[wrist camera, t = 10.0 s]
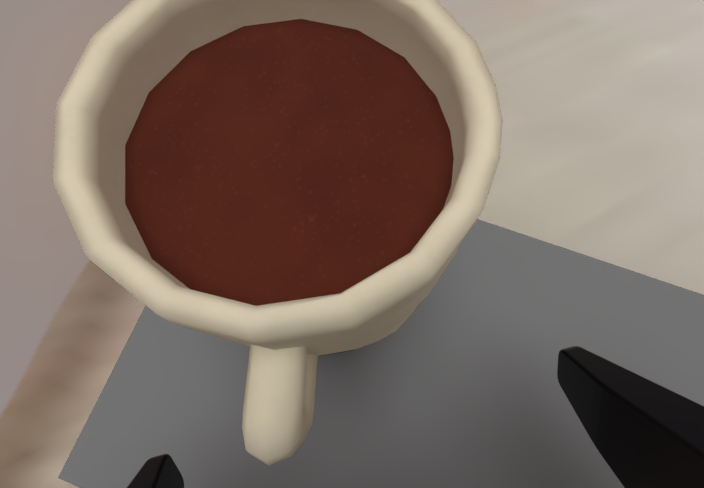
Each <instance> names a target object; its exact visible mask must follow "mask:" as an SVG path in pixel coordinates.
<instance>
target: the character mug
mask: <svg viewBox="0 0 704 488" xmlns="http://www.w3.org/2000/svg"><path fill="white" fill-rule="evenodd" d="M502 123H503V120H502V115H501V110H500V104H499V99H498V94H497V89H496V85H495V83H494V80H493V78H492V76H491V74H490V72H489V69H488V67H487V65H486V63H485V60H484V58H483V56H482V54H481V52H480V49H479V47H478V45H477V43H476V41H475V40H474V39H473V38H472V37H471V36H470V34H469V33H468V32H467V31H466V30H465V29H464V28H463V27H462V26H461V25H460V24H459V23H458V22H457V21H456V19H455V18H454V17H453V16H452V15H451V14H450V13H449V12H448V11H447V10H446V9H445V8H444V7H443V6H442V4H441V3H440V2H439V1H438V0H132V1H131V2H130V3H129V4H128V5H126V6H125V7H124V8H123V9H122V10H121V11H120V12H118V13H117V14H116V15H115V16H114V17H113V18H112V19H111V20H109V21H108V22H107V23H106V24H105V25H104V26H103V27H102V28H100V29H99V30H98V31H97V32H96V33H95V34H94V35H93V36H92V37H91V39H90V41H89V43H88V45H87V47H86V48H85V50H84V53H83V54H82V56H81V58H80V60H79V62H78V64H77V66H76V68H75V70H74V71H73V73H72V75H71V77H70V79H69V81H68V83H67V85H66V87H65V89H64V91H63V92H62V94H61V96H60V98H59V100H58V102H57V104H56V121H55V143H54V165H53V183H54V186H55V188H56V190H57V192H58V195H59V197H60V199H61V201H62V203H63V206H64V208H65V210H66V212H67V214H68V217H69V219H70V221H71V223H72V226H73V228H74V230H75V232H76V234H77V237H78V239H79V241H80V243H81V246H82V248H83V250H84V252H85V254H86V256H87V258H89V259H90V260H91V261H92V262H94V263H95V264H96V265H97V266H98V267H100V268H101V269H102V270H103V271H105V272H106V273H107V274H108V275H109V276H111V277H112V278H113V279H114V280H116V281H117V282H118V283H119V284H120V285H122V286H123V287H124V288H125V289H126V290H128V291H129V292H130V293H131V294H133V295H134V296H135V297H136V298H137V299H139V300H140V301H141V302H142V303H144V304H145V305H146V306H147V307H148V308H150V309H151V310H152V311H153V312H154V313H156V314H157V315H159V316H161V317H162V318H164V319H166V320H167V321H169V322H171V323H174V324H178V325H181V326H184V327H188V328H191V329H194V330H198V331H201V332H204V333H208V334H211V335H214V336H218V337H221V338H224V339H228V340H231V341H234V342H237V343H241V344H244V345H247V346H250V352H249V361H248V369H247V378H246V387H245V396H244V405H243V419H242V430H243V437H244V443H245V449H246V451H247V452H248V453H249V454H250V455H252V456H254V457H255V458H257V459H259V460H260V461H262V462H264V463H265V464H267V465H269V466H270V465H272V464H275V463H277V462H279V461H282V460H284V459H287V458H289V457H291V456H292V455H293V454H294V453H295V451H296V450H297V449H298V448H299V446H300V445H301V444H302V443H303V441H304V440H305V438H306V436H307V434H308V432H309V430H310V428H311V426H312V422H313V415H314V404H315V389H316V374H317V359H318V356H323V355H329V354H335V353H340V352H346V351H352V350H356V349H358V348H361V347H364V346H366V345H369V344H372V343H374V342H377V341H379V340H381V339H383V338H385V337H386V336H388V335H390V334H391V333H393V332H395V331H397V329H398V328H399V327H400V326H401V325H402V324H403V323H404V322H405V320H406V319H407V318H408V317H409V316H410V315H411V314H412V312H413V311H414V310H415V308H416V307H417V306H418V305H419V304H420V302H421V301H422V300H423V299H424V298H425V297H426V296H427V295H428V294H429V293H430V292H431V290H432V289H433V287H434V286H435V284H436V283H437V281H438V280H439V278H440V277H441V275H442V274H443V272H444V271H445V269H446V268H447V266H448V265H449V263H450V262H451V260H452V259H453V257H454V256H455V254H456V253H457V250H458V248H459V245H460V243H461V241H462V240H463V239H464V237H465V236H466V234H467V233H468V232H469V230H470V229H471V228H472V226H473V225H474V223H475V222H476V220H477V219H478V217H479V215H480V214H481V212H482V210H483V208H484V205H485V202H486V199H487V196H488V193H489V190H490V187H491V184H492V180H493V177H494V174H495V171H496V168H497V165H498V162H499V159H500V150H501V137H502Z"/></svg>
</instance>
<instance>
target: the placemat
mask: <svg viewBox="0 0 704 488" xmlns="http://www.w3.org/2000/svg"><path fill="white" fill-rule="evenodd" d="M572 346H579V347H582V348H584V349H586V350H588V351H590V352H592V353H594V354H596V355H598V356H601V357H603V358H605V359H607V360H609V361H611V362H613V363H615V364H617V365H619V366H621V367H623V368H626V369H628V370H630V371H632V372H634V373H636V374H638V375H640V376H642V377H644V378H646V379H648V380H651V381H653V382H655V383H657V384H659V385H661V386H663V387H665V388H667V389H669V390H671V391H673V392H676V393H678V394H680V395H682V396H684V397H686V398H688V399H690V400H692V401H694V402H696V403H698V404H701V405H703V406H704V295H702V294H699V293H696V292H693V291H690V290H687V289H684V288H681V287H678V286H675V285H672V284H669V283H666V282H663V281H660V280H657V279H654V278H651V277H648V276H645V275H642V274H640V273H637V272H634V271H631V270H628V269H625V268H622V267H619V266H616V265H613V264H610V263H607V262H604V261H601V260H598V259H595V258H592V257H589V256H586V255H583V254H580V253H577V252H574V251H571V250H568V249H565V248H562V247H559V246H556V245H553V244H550V243H547V242H544V241H541V240H538V239H535V238H532V237H529V236H526V235H523V234H520V233H517V232H514V231H511V230H508V229H505V228H502V227H499V226H496V225H493V224H490V223H487V222H484V221H481V220H478V219H477V220H476V222H475V223H474V225H473V226H472V228H471V229H470V230H469V232H468V233H467V234H466V236H465V237H464V239H463V240H462V241H461V243H460V245H459V248H458V250H457V253H456V254H455V256H454V257H453V259H452V260H451V262H450V263H449V265H448V266H447V268H446V269H445V271H444V272H443V274H442V275H441V277H440V278H439V280H438V281H437V283H436V284H435V286H434V287H433V289H432V290H431V292H430V293H429V294H428V295H427V296H426V297H425V298H424V299H423V300H422V301H421V302H420V304H419V305H418V306H417V307H416V308H415V310H414V311H413V312H412V314H411V315H410V316H409V317H408V318H407V319H406V320H405V322H404V323H403V324H402V325H401V326H400V327H399V328H398V329H397V331H395V332H393V333H391V334H390V335H388V336H386V337H385V338H383V339H381V340H379V341H377V342H374V343H372V344H369V345H366V346H364V347H361V348H358V349H356V350H352V351H346V352H340V353H335V354H329V355H323V356H318V359H317V374H316V389H315V404H314V415H313V422H312V426H311V428H310V430H309V432H308V434H307V436H306V438H305V440H304V441H303V443H302V444H301V445H300V446H299V448H298V449H297V450H296V451H295V453H294V454H293V455H292V456H291V457H289V458H287V459H284V460H282V461H279V462H277V463H275V464H272V465H270V466H269V465H267V464H265V463H264V462H262V461H260V460H259V459H257V458H255V457H254V456H252V455H250V454H249V453H248V452H247V451H246V449H245V443H244V437H243V430H242V419H243V405H244V396H245V387H246V378H247V369H248V361H249V352H250V346H247V345H244V344H241V343H237V342H234V341H231V340H228V339H224V338H221V337H218V336H214V335H211V334H208V333H204V332H201V331H198V330H194V329H191V328H188V327H184V326H181V325H178V324H174V323H171V322H169V321H167V320H166V319H164V318H162V317H161V316H159V315H157V314H156V313H154V312H153V311H152V310H151V309H150V308H148V307H147V306H145V308H144V310H143V312H142V314H141V316H140V318H139V320H138V322H137V323H136V325H135V327H134V329H133V331H132V333H131V335H130V337H129V339H128V341H127V343H126V345H125V347H124V349H123V351H122V353H121V355H120V357H119V359H118V361H117V363H116V365H115V367H114V369H113V371H112V373H111V375H110V377H109V379H108V381H107V383H106V384H105V386H104V388H103V390H102V392H101V394H100V396H99V398H98V400H97V402H96V404H95V406H94V408H93V410H92V412H91V414H90V416H89V418H88V420H87V422H86V424H85V426H84V428H83V430H82V432H81V434H80V436H79V438H78V440H77V442H76V444H75V445H74V447H73V449H72V451H71V453H70V455H69V457H68V459H67V461H66V463H65V465H64V467H63V469H62V471H61V473H60V475H59V477H58V478H60V479H62V480H64V481H66V482H69V483H71V484H73V485H75V486H78V487H80V488H127V487H128V485H129V484H130V483H131V481H132V480H133V478H134V477H135V476H136V474H137V473H138V472H139V470H140V469H141V468H142V466H143V465H144V464H145V462H146V461H147V460H148V459H150V458H152V457H155V456H159V455H163V454H169V455H170V456H171V457H172V459H173V461H174V462H175V464H176V466H177V468H178V469H179V471H180V473H181V474H182V477H183V480H184V488H624V486H623V485H622V484H621V482H620V481H619V479H618V478H617V477H616V475H615V474H614V472H613V471H612V470H611V468H610V467H609V465H608V464H607V463H606V461H605V460H604V458H603V457H602V456H601V454H600V453H599V451H598V450H597V448H596V447H595V445H594V443H593V442H592V440H591V438H590V437H589V435H588V433H587V432H586V430H585V428H584V426H583V425H582V423H581V421H580V419H579V418H578V416H577V414H576V412H575V411H574V409H573V407H572V405H571V404H570V402H569V400H568V398H567V397H566V395H565V393H564V391H563V390H562V388H561V386H560V384H559V382H558V378H557V368H558V354H559V351H560V350H561V349H564V348H568V347H572Z"/></svg>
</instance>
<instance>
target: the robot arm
mask: <svg viewBox="0 0 704 488" xmlns="http://www.w3.org/2000/svg"><path fill="white" fill-rule="evenodd" d="M557 378H558V382H559V384H560V386H561V388H562V390H563V391H564V393H565V395H566V397H567V398H568V400H569V402H570V404H571V405H572V407H573V409H574V411H575V412H576V414H577V416H578V418H579V419H580V421H581V423H582V425H583V426H584V428H585V430H586V432H587V433H588V435H589V437H590V438H591V440H592V442H593V443H594V445H595V447H596V448H597V450H598V451H599V453H600V454H601V456H602V457H603V458H604V460H605V461H606V463H607V464H608V465H609V467H610V468H611V470H612V471H613V472H614V474H615V475H616V477H617V478H618V479H619V481H620V482H621V484H622V485H623V486H624V488H704V406H703V405H701V404H698V403H696V402H694V401H692V400H690V399H688V398H686V397H684V396H682V395H680V394H678V393H676V392H673V391H671V390H669V389H667V388H665V387H663V386H661V385H659V384H657V383H655V382H653V381H651V380H648V379H646V378H644V377H642V376H640V375H638V374H636V373H634V372H632V371H630V370H628V369H626V368H623V367H621V366H619V365H617V364H615V363H613V362H611V361H609V360H607V359H605V358H603V357H601V356H598V355H596V354H594V353H592V352H590V351H588V350H586V349H584V348H582V347H579V346H572V347H568V348H564V349H561V350H560V351H559V354H558V368H557ZM127 488H184V480H183V477H182V474H181V473H180V471H179V469H178V468H177V466H176V464H175V462H174V461H173V459H172V457H171V456H170V455H169V454H163V455H159V456H155V457H152V458H150V459H148V460H147V461H146V462H145V464H144V465H143V466H142V468H141V469H140V470H139V472H138V473H137V474H136V476H135V477H134V478H133V480H132V481H131V483H130V484H129V485H128V487H127Z"/></svg>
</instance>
